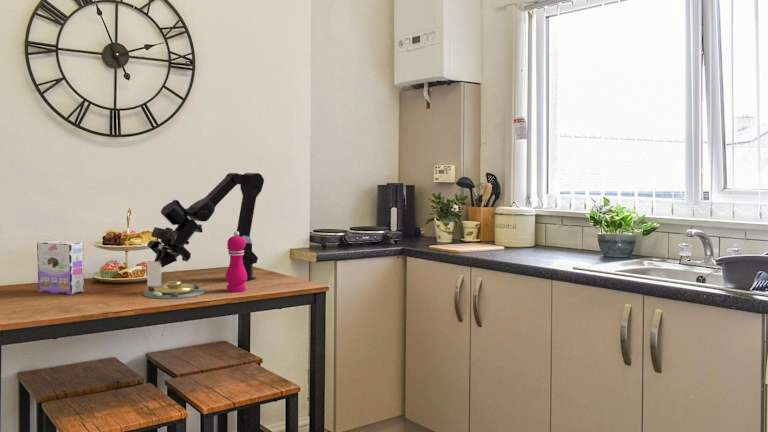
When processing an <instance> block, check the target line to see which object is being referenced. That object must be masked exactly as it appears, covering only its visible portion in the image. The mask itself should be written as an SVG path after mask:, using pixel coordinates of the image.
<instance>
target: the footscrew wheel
mask: <svg viewBox="0 0 768 432" xmlns="http://www.w3.org/2000/svg"><path fill="white" fill-rule="evenodd" d="M146 265H147V271H146V272H147V273H146V274H147V276H146V277H147V278H146V279H147V285H146V286H147V287H149V286H155V287H154V291H156V292H160V293H161V294H171V293H172V292H178V294H182V293H188V292H192V291H194V285H195V284H191V283H182V281H181V280H169V281H167V282H166V283H164V284H163V283H162V268H161V261H155V260H148V261H147V263H146Z"/></svg>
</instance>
